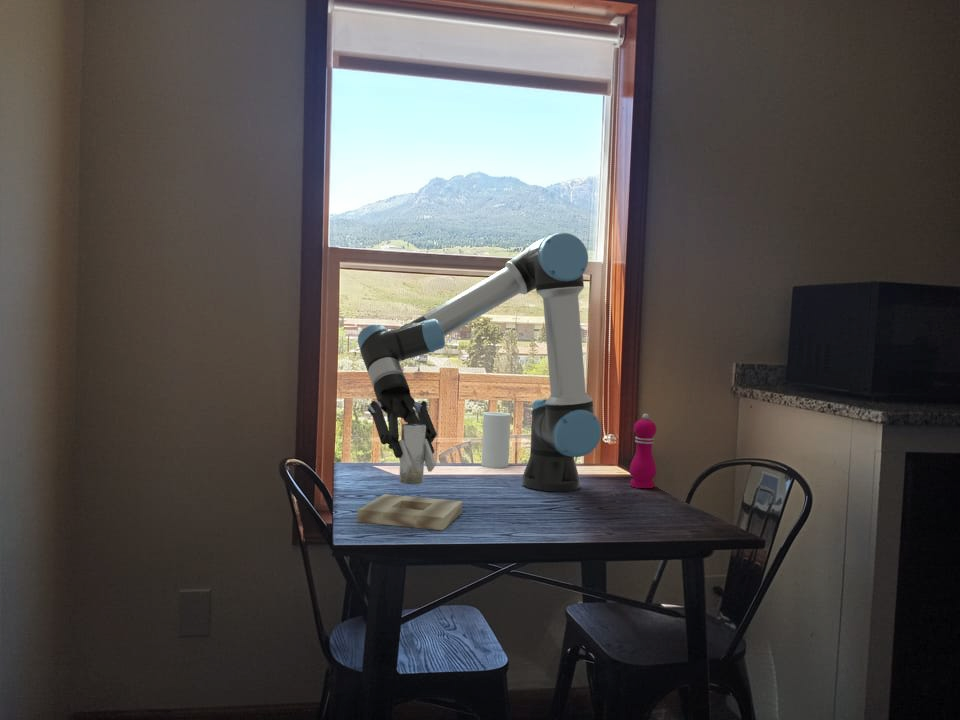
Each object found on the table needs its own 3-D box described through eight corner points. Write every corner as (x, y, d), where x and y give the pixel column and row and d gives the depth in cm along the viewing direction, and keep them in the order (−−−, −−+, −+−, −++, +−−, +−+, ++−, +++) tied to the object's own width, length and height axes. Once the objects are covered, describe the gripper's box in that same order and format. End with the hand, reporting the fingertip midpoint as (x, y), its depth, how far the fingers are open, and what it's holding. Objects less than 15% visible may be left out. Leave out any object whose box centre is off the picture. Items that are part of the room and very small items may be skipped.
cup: (508, 468, 218) (510, 415, 218) (481, 467, 218) (483, 414, 218) (508, 464, 226) (510, 412, 226) (481, 462, 227) (483, 411, 226)
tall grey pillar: (425, 480, 156) (428, 424, 155) (419, 485, 151) (422, 426, 150) (403, 478, 157) (406, 422, 156) (395, 482, 152) (398, 424, 151)
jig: (462, 512, 160) (462, 501, 160) (442, 530, 144) (443, 517, 144) (384, 505, 164) (384, 494, 163) (357, 521, 148) (357, 509, 148)
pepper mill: (647, 484, 203) (651, 412, 202) (660, 489, 196) (664, 415, 195) (624, 484, 201) (627, 412, 200) (636, 489, 194) (639, 414, 193)
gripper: (418, 393, 171) (450, 476, 158) (346, 393, 161) (374, 481, 148) (430, 372, 166) (464, 455, 153) (357, 370, 157) (386, 459, 143)
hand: (420, 468), depth 150 cm, fingers closed on tall grey pillar, 5 cm apart
